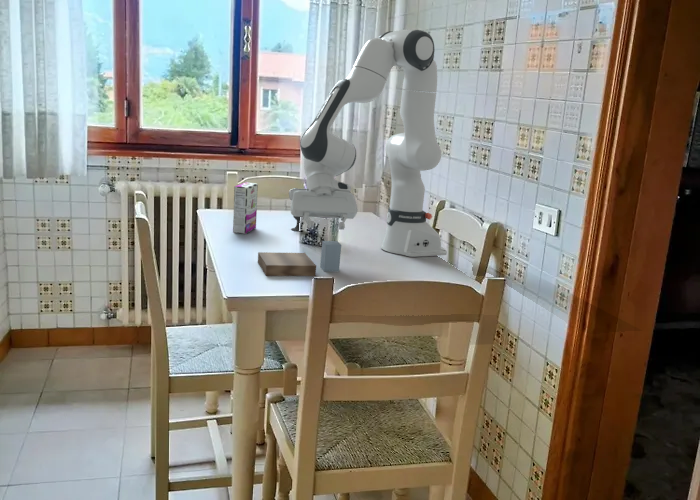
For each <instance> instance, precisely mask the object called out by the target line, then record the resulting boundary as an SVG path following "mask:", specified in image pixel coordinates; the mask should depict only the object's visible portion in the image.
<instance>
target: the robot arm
mask: <svg viewBox="0 0 700 500" xmlns="http://www.w3.org/2000/svg"><path fill="white" fill-rule="evenodd" d="M434 58H435V41H434V39H433V37H432V35H431V34H429V33H428V32H426V31H424V30H420V29H400V30H394V31H391V30H390V31H387V32H384V33H382V34H381V35H379V36H378V37H372V38H370V39H368V40H367V41H366V42H365V43H364V45H363V47H362V48H361V50H360V51H359V53H358V55H357V57H356V59H355V62H354V64H353V67H352V68H351V70H350V72H349V74H348V75H347V76H346V77H345V78H343V79H339V80H338V82H336V83H335V85H334V86H333V87H332V89H331V90H330V92H329V94H327V96H326V99H325V100H324V102H323V104H322V105H321V107H320V109H319V111H318V112H317V114H316V115H315V117H314V118H313V121H312V122H311V124H310V125H309V126H308V128H307V129H306V130H305V131H304V133H303V134H302V135H301V138H300V140H299V146H300V147H299V148H300V151H301V154H302V156H303V168H304V174H305V177H306V180H305V181H306V182H305V184H306V188H298V187H297V188H296V187H295V188H292V189H290V190H289V191H288V198H289V200H290V214H291V215H292V217H293V216H298V217H303V219H302V220H304V222H305V223H306V224H307V228H308V229H314V227H315V221H314V220H312V219H311V218H323V219H324V218H326V219H327V218H328V219H340V221H339V223H338V225H337V227H338V230H345V228H346V227H345V223H346V220H347V219H349V220H351V219H352V220H353V219H354V218H355V217H356V216H357V214H358V205H357V201H356V198H355V196H354V194H353V193H352V192H351V191H352V186H351V185H350V184H348V183H345V182H341V181H339V180H337V179H335V177H339V176H340V175H342V174H345V172H348V171H349V170H350V169H352V168H353V166H354V165H355V163H356V159H357V149H356V147H355V145H354V144H353V143H351V142H350V141H347V140H345V139H344V138H342V137H339V136H337V135H335V134H334V133H331V127H332V126H333V124H334V123H335V120H336V119H337V117H338V115H339V113H340V111H341V110H342V108H344V106H345V105H348V104H350V103H357V104H367V103H371V102H373V101H375V100H377V99H378V98H379V97H380V96H381V95H382V93H383V91H384V88H385V86H386V83H387V81H388V78H389V75H390V71H391V69H393V67H397V68H402V70H403V71H402V72H403V75H404V78H403V81H402V87H401V88H402V90H401V98H400V106H399V116H400V119H401V120H402V125H403V132H400V133H396V134H392V135H391V136H390V137H389V138H388V139H387V141H386V143H385V146H384V147H385V148H384V149H385V154H386V157H387V158H388V163H389V169H390V179H391V190H390V201H389V207H388V209H387V214H386V229H385V233H384V238H383V241H382V242H381V246H380V249H381V250H383V251H385V252H388V253H391V254H396V255H403V256H406V257H413V258H414V257H416V258H417V257H433V256H434V257H435V256H438V257H439V256H447V250H446V248H444V247H442V239H441V236H440V234H439V233H438V232H437V231H436V230H435V229H434V228H433V227H432V226H431V225H430V224H429V223H428V222H427V220H432V218H433V214H432V213H429V212H426V211H424V210H423V209H424V201H425V200H424V199H425V192H426V188H425V184H424V182H423V179H422V174H421V171H423V172H424V171H430V170H433V169H435V168H436V167H437V166H438V165H439V163H440V161H441V159H442V150H441V146H440V145H439V143H438V141H437V140H438V139H437V136H436V128H435V108H436V99H437V91H438V90H437V89H438V65H437V62H436V61H435V60H434Z"/></svg>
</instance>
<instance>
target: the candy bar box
mask: <svg viewBox="0 0 700 500" xmlns="http://www.w3.org/2000/svg"><path fill="white" fill-rule="evenodd" d="M258 185H259V184H258V183H256V182H247V181H246V182H244V183H239V184H238V185H235V186H234V187H233V189H234V190H233V191H234V192H233V194H234V195H233V220H232V221H233V222H232V224H233V227H232V233H235V234H241V235H242V234H243V235H246V234H248V233H250V232H251V231H254V230H255V229H256V228H257V210H258V208H257V207H258V188H259V187H258Z"/></svg>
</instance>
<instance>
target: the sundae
mask: <svg viewBox="0 0 700 500" xmlns="http://www.w3.org/2000/svg"><path fill="white" fill-rule="evenodd" d="M292 217H293V218H294V219H295V220H296V225H295V227H292V228H291V229H290V230H291V231H293V230H294V232H300V231H299V223H300V224H301V221H300V217H298V216H293V215H292Z"/></svg>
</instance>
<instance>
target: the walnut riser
mask: <svg viewBox="0 0 700 500" xmlns="http://www.w3.org/2000/svg"><path fill="white" fill-rule="evenodd" d="M257 254H258V255H257V263H258V265H259V267H260V268H261V270H262V272H263V273H264V274H265V275H264V276H266V277H316V274H317V273H316V272H317V265H316V263H315V262H314V261H313V260H312V259H311V258H310V257H309V256H308V255H307V254H306V253H305V252H268V251H267V252H262V251H259V252H258V253H257Z"/></svg>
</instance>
